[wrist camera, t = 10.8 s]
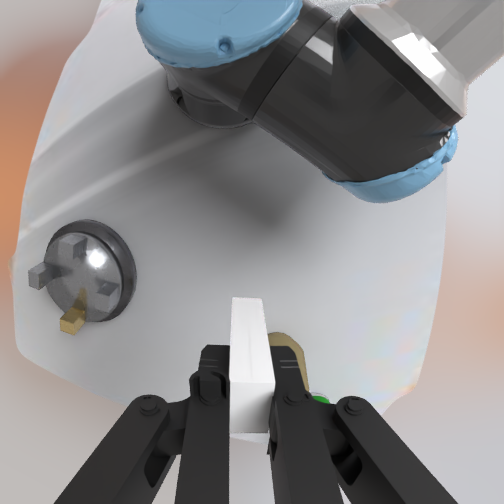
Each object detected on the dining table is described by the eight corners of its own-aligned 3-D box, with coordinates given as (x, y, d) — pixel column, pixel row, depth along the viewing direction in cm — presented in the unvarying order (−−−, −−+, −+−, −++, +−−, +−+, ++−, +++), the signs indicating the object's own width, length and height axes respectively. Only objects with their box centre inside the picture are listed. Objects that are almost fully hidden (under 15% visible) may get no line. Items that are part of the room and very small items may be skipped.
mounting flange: (49, 215, 39) (42, 218, 37) (138, 225, 40) (133, 228, 38) (56, 306, 43) (50, 311, 41) (137, 323, 45) (133, 330, 43)
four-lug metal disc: (128, 241, 38) (111, 254, 33) (121, 325, 42) (108, 346, 36) (50, 222, 37) (28, 232, 31) (50, 302, 41) (32, 319, 35)
